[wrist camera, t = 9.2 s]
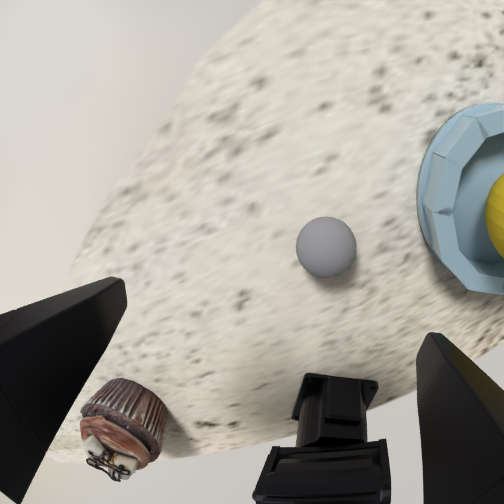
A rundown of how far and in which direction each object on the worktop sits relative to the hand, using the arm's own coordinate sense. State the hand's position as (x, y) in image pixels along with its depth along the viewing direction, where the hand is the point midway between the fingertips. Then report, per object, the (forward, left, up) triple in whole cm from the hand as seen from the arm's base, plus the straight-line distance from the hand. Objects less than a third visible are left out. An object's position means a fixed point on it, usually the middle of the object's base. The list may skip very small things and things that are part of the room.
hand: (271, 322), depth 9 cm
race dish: (+3, -13, -12) cm, 18 cm away
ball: (-2, -2, -12) cm, 12 cm away
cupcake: (-25, +14, -12) cm, 31 cm away
